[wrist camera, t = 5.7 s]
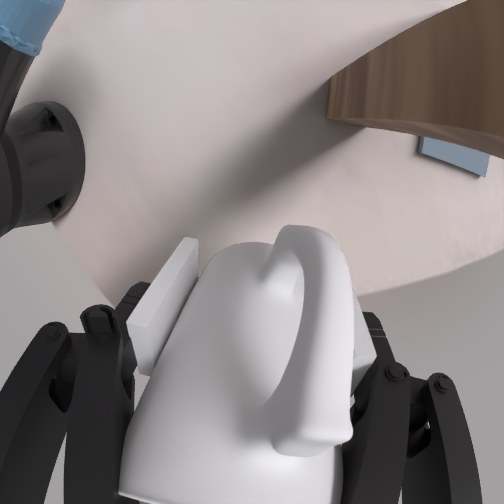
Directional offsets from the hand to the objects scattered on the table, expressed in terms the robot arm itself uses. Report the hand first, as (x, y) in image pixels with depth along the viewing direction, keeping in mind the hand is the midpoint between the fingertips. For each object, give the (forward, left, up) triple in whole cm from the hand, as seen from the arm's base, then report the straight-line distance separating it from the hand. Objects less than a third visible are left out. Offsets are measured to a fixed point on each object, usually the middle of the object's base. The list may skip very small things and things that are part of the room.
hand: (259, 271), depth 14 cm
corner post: (+6, +10, -13) cm, 18 cm away
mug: (0, 0, -1) cm, 1 cm away
